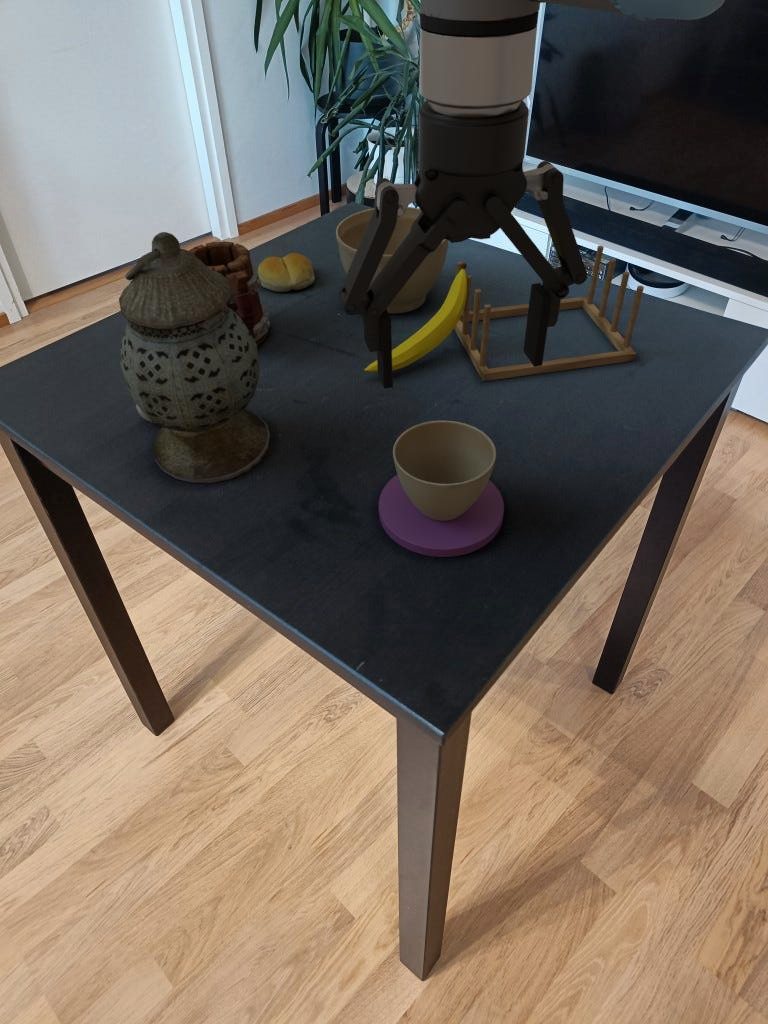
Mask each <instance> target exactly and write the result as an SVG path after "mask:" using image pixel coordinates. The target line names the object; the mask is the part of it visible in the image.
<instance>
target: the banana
mask: <svg viewBox="0 0 768 1024" xmlns="http://www.w3.org/2000/svg"><path fill="white" fill-rule="evenodd" d="M467 267H468V265H467V263H466V262H463V264H462V269H461V270H460V272H459V273H458V274H457V273H456V276H455V278H454V280H452V281H453V282H452V283H451V286H450V289H449V291H448V292H447V296H446V298H445V300H444V302H443V303H442V305H441V307H440V308H439V310H438V311H437V312H436V313H435V314H434V315H433V316H432V317H431V318H430V320H428V322H426V323H425V324H424V325H423V326H422V327H421V328H420V329H418V331H416V332H415V333H413V335H411V336H410V337H409V338H407V339H406V340H404V341H403V342H401V344H398V345H397V346H396V347H395V348H393V349H392V371H397V370H399V369H402V368H405V367H407V366H409V365H410V364H412V363H415V362H416V361H418V360H419V359H421V358H423V357H424V356H426V355H428V353H430V352H431V351H433V350H434V349H435V348H437V347H438V346H439V345H441V343H443V342H444V341H445V340H446V339H447V338H448V336H450V334H451V333H452V332H453V330H454V327H455V326H456V325H457V323H458V321H459V319H460V317H461V315H462V312H464V306H465V301H466V294H467V277H466V276H467V271H466V269H467ZM363 371H364V372H369V373H378V365H377V359H376V360H375V361H373V362H372V363H369V365H367V367H366V368H364V369H363Z"/></svg>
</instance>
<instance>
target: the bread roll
mask: <svg viewBox="0 0 768 1024" xmlns="http://www.w3.org/2000/svg"><path fill="white" fill-rule="evenodd" d="M257 270H258V274H259V278H260V281H261V285H260V286H261V287H263V289H264V288H265V289H266V290H269V291H272V292H277V293H287V292H290V291H291V290H294V291H299V290H303V289H306V288H307V287H309V286H311V285H313V283H314V282H315V279H316V277H315V272H314V269H313V264H312V260H310V259H309V258H308V257H307V256H305V255H303V254H302V253H301V254H300V253H296V252H291V253H288V254H286V255H285V256H283V257H280V256H275V255H272V256H268V257H266V258H265V259H263V260H262V261H261V262H260V263H259V265H258V267H257Z"/></svg>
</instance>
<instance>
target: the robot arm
mask: <svg viewBox="0 0 768 1024" xmlns="http://www.w3.org/2000/svg"><path fill="white" fill-rule="evenodd" d="M725 1H726V0H420V1H419V9H420V10H419V25H420V26H419V27H420V28H419V32H420V33H419V83H418V85H419V86H418V87H419V88H418V92H419V95H420V96H421V97H422V98H423V99H424V100H425V101H424V102H423V103H422V105H421V106H420V108H419V110H418V172H417V175H416V177H415V180H414V182H413V183H392V182H391V180H390V179H388V178H386V177H382V178H379V179H378V180H377V181H376V183H375V191H374V205H373V208H374V211H373V213H372V216H371V218H370V220H369V223H368V225H367V228H366V230H365V232H364V235H363V237H362V240H361V242H360V244H359V247H358V249H357V251H356V254H355V256H354V259H353V261H352V263H351V266H350V268H349V270H348V273H347V274H346V275H345V278H344V280H343V282H342V285H341V287H340V290H339V292H338V297H339V300H340V302H341V304H342V307H343V310H344V312H345V313H346V314H347V315H349V316H353V315H356V314H358V315H360V316H362V320H363V321H362V322H363V338H364V342H365V344H366V347H367V349H368V351H369V352H370V353H373V352H376V360H377V365H378V372H377V373H378V376H379V379H380V382H381V384H382V387H383V389H385V390H386V389H391V388H394V386H393V385H394V382H393V379H394V378H393V370H392V350H393V343H392V342H393V341H392V339H393V338H392V318H391V315H390V314H389V313H388V311H387V309H386V308H387V307H388V305H389V304H390V303H391V302H392V300H393V299H394V298H395V297H396V295H397V294H398V293H399V291H400V290H401V289H402V288H403V286H404V285H405V284H406V282H407V281H408V280H409V279H410V277H411V276H412V275H413V273H414V272H415V271H416V270H417V268H418V267H419V266H420V264H421V263H422V262H423V261H424V259H425V258H426V257H427V255H428V254H429V253H431V252H434V251H435V250H436V249H437V248H438V246H439V245H440V244H441V242H442V241H443V240H444V239H446V240H449V242H450V243H451V244H454V243H461V242H465V241H466V240H469V239H475V240H488V239H491V236H492V235H494V234H496V233H497V232H498V231H499V230H501V232H503V234H504V235H505V236H506V237H507V239H508V240H509V241H510V242H511V244H512V245H513V246H514V247H515V248H516V250H517V251H518V252H519V254H520V255H521V256H522V257H523V259H524V260H525V261H526V262H527V264H528V265H529V266H530V268H532V270H533V271H534V273H535V274H536V275H537V276H538V277H539V278H540V280H541V281H542V283H541V282H537V283H536V282H535V283H531V285H530V294H529V300H528V301H529V302H528V304H529V309H528V314H527V317H526V324H525V325H526V326H525V335H524V343H523V353H524V354H525V356H526V357H527V359H528V360H529V363H532V364H533V366H534V367H535V366H542V362H543V361H544V357H545V355H544V354H545V349H546V342H547V341H546V340H547V334H548V328H551V327H555V326H556V325H557V322H558V321H559V313H560V310H559V308H560V302H561V300H563V299H566V298H567V296H568V295H569V293H570V288H569V287H570V286H572V285H574V284H575V285H577V286H578V285H582V284H584V283H585V282H586V281H587V279H588V272H587V269H586V266H585V263H584V260H583V258H582V254H581V251H580V249H579V245H578V242H577V239H576V237H575V233H574V230H573V227H572V225H571V221H570V218H569V215H568V212H567V209H566V206H565V203H564V181H565V180H564V177H565V176H564V174H563V173H562V171H560V170H559V169H558V168H557V167H555V166H554V165H553V164H552V163H551V162H550V161H548V160H543V161H541V162H539V163H538V165H537V166H536V168H533V169H529V170H525V171H524V168H523V164H524V161H525V154H526V143H527V135H528V125H529V124H528V123H529V116H530V115H529V114H530V109H529V107H528V106H527V104H526V102H525V101H524V100H526V98H528V97H529V96H530V95H531V92H532V87H533V76H534V67H535V66H534V64H535V55H536V44H537V32H538V22H539V11H540V7H541V4H544V3H545V4H546V3H547V4H553V5H554V4H555V5H560V6H568V7H573V8H580V9H587V10H593V11H594V10H595V11H600V12H606V13H612V14H619V15H625V16H631V17H632V19H634V20H637V21H642V22H651V21H655V20H657V19H664V20H665V19H668V20H681V21H682V20H683V21H695V20H699V19H702V18H706V17H708V16H709V15H711V14H713V13H714V12H716V11H717V10H719V9H720V8H721V7H722V6H723V5H724V3H725ZM527 190H528V191H529V194H530V195H531V197H533V198H534V200H536V201H537V202H538V206H539V209H540V211H541V214H542V217H543V220H544V223H545V225H546V228H547V231H548V233H549V237H550V239H551V242H552V244H553V247H554V250H555V253H556V255H557V259H558V261H559V264H560V266H557V267H555V268H554V267H553V266H552V264H551V263H550V261H548V259H547V258H546V256H545V255H544V254H543V253H542V251H541V250H540V249H539V248H538V246H537V245H536V244H535V242H534V241H533V240H532V238H531V237H530V236H529V235H528V233H527V232H526V231H525V229H524V227H523V226H522V225H521V224H520V223H519V221H518V220H517V219H516V217H515V216H514V215H513V214H512V212H513V211H514V209H515V208H516V206H518V203H519V202H520V201H521V200H522V198H523V197H524V195H525V193H526V191H527ZM413 203H414V204H416V206H417V208H419V209H420V210H421V211H422V212H421V213H420V215H419V216H418V217H417V219H416V220H415V221H414V223H413V224H412V226H411V230H410V232H409V234H408V235H407V237H406V238H405V239H404V241H403V242H402V243H401V245H400V246H399V247H398V249H397V250H396V251H395V253H394V254H393V255H392V257H391V258H390V259H389V260H388V262H387V263H386V264H385V266H384V267H383V268H382V270H381V271H380V272H379V274H378V275H377V276H376V278H375V279H374V280H373V282H372V283H371V281H372V279H373V277H374V274H375V272H376V270H377V268H378V265H379V263H380V261H381V259H382V256H383V254H384V252H385V250H386V247H387V245H388V243H389V241H390V238H391V236H392V234H393V231H394V229H395V225H396V221H397V217H400V216H402V215H403V214H404V213H405V211H406V208H407V207H409V206H410V205H411V204H413ZM370 283H371V284H370Z"/></svg>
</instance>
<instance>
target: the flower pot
mask: <svg viewBox="0 0 768 1024" xmlns="http://www.w3.org/2000/svg"><path fill="white" fill-rule="evenodd" d="M392 457H393V461H394V467H395V471H396V475H397V474H398V477H399V480H400V482H401V485H402V487H403V489H404V491H405V492H406V494H407V496H408V497H409V499H410V500H411V502H412V503H413V504H414V505H415V506H416V508H417V509H418V510H419V511H420V512H421V513H422V514H424V515H425V516H426V517H428V518H431V519H434V520H439V521H447V520H452V519H455V518H457V517H459V516H461V515H462V514H463V513H464V512H466V511H467V510H468V509H469V508H470V507H471V506H472V505H473V504H474V502H475V501H476V500H477V499H478V497H479V496H480V495H481V493H482V492H483V490H484V488H485V487H486V485H487V483H488V481H489V480H490V478H491V476H492V474H493V470H494V468H495V465H496V460H497V448H496V446H495V443H494V442H493V440H492V439H491V438H490V437H489V435H488V434H486V433H485V432H484V431H482V430H481V429H479V428H477V427H475V426H473V425H470V424H468V423H465V422H460V421H454V420H445V419H444V420H443V419H441V420H429V421H425V422H421V423H418V424H416V425H413V426H411V427H409V428H408V429H406V430H404V431H403V432H402V433H401V434H400V435H399V436H398V437H397V439H396V441H395V442H394V444H393V448H392Z"/></svg>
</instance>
